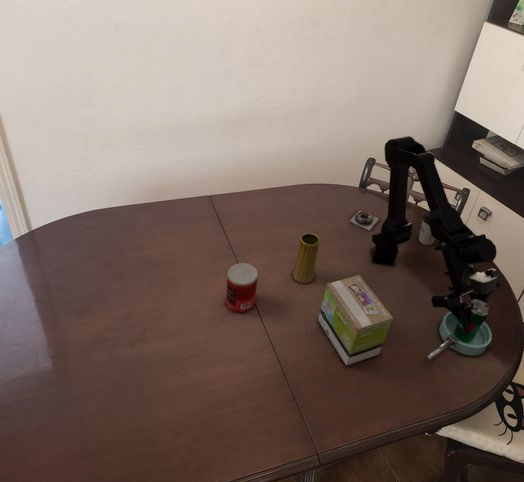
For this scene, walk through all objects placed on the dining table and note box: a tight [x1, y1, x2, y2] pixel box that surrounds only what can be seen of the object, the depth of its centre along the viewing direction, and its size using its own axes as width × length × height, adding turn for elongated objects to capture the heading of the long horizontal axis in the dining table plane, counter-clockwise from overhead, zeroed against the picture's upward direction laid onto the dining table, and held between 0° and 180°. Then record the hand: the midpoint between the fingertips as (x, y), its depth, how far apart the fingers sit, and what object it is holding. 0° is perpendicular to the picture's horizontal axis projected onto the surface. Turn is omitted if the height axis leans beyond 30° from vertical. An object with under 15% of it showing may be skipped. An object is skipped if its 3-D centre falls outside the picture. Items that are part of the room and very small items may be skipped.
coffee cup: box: [418, 211, 437, 246], centre depth 150 cm, size 7×7×10 cm
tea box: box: [318, 274, 394, 366], centre depth 114 cm, size 15×10×15 cm
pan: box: [438, 311, 493, 356], centre depth 121 cm, size 12×12×4 cm
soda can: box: [454, 299, 490, 342], centre depth 118 cm, size 5×5×12 cm
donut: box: [349, 210, 380, 231], centre depth 158 cm, size 8×8×2 cm
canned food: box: [225, 262, 259, 313], centre depth 121 cm, size 8×8×11 cm
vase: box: [292, 232, 320, 284], centre depth 130 cm, size 6×6×14 cm
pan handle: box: [425, 334, 458, 362], centre depth 114 cm, size 11×2×2 cm, turn 127°
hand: (475, 324), depth 117 cm, fingers open, 6 cm apart
